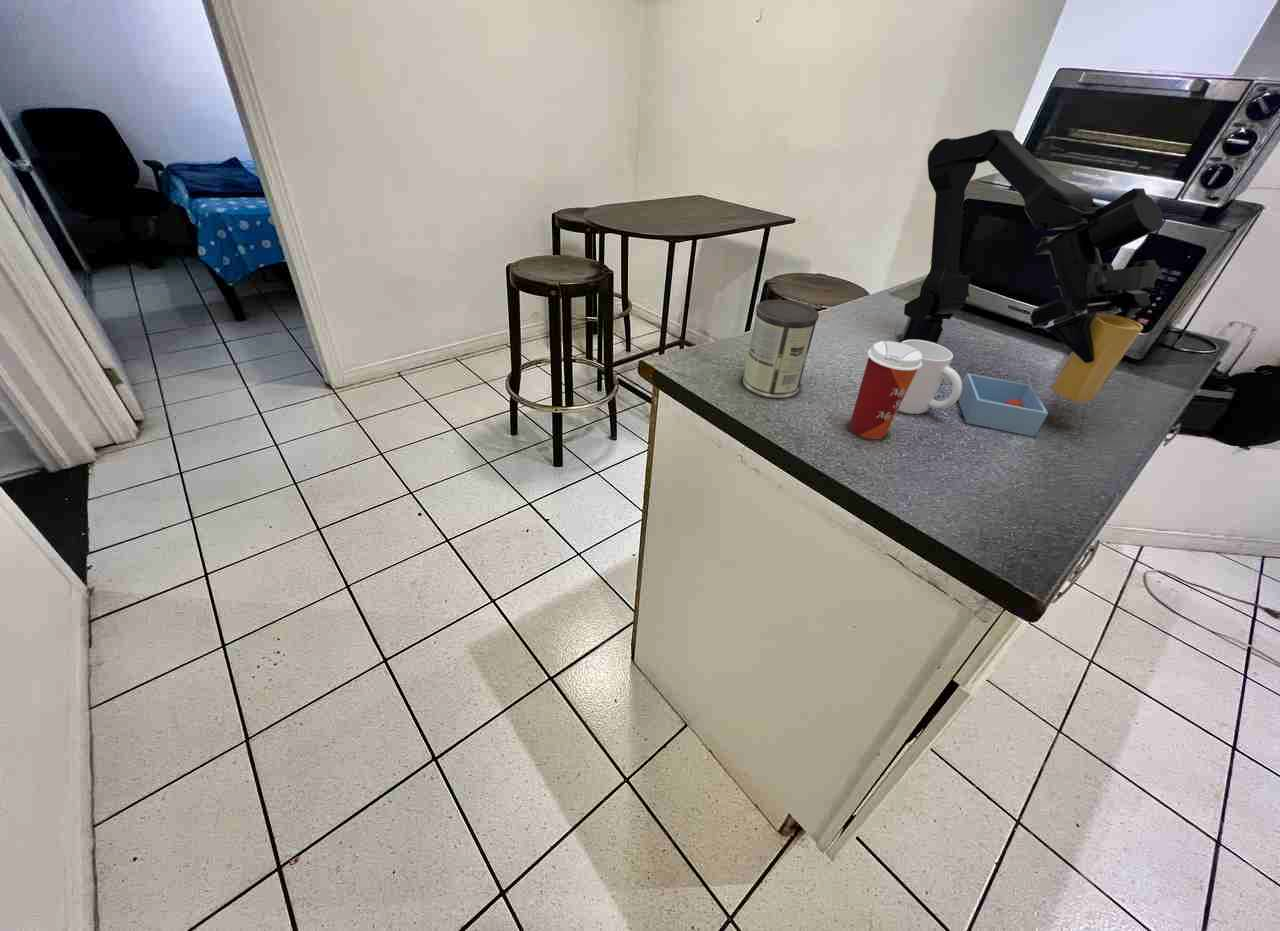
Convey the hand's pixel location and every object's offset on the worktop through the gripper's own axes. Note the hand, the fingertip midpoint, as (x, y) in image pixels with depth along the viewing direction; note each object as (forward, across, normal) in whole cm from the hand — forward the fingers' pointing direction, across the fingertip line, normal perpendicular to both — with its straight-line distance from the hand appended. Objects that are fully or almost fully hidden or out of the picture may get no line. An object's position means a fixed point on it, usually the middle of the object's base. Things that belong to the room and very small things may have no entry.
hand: (1104, 360), depth 82 cm
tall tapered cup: (+4, 0, +6) cm, 7 cm away
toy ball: (+4, -7, +11) cm, 14 cm away
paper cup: (+3, -35, +15) cm, 38 cm away
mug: (+1, -22, +17) cm, 28 cm away
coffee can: (-9, -42, +27) cm, 51 cm away
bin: (+4, -9, +13) cm, 16 cm away
